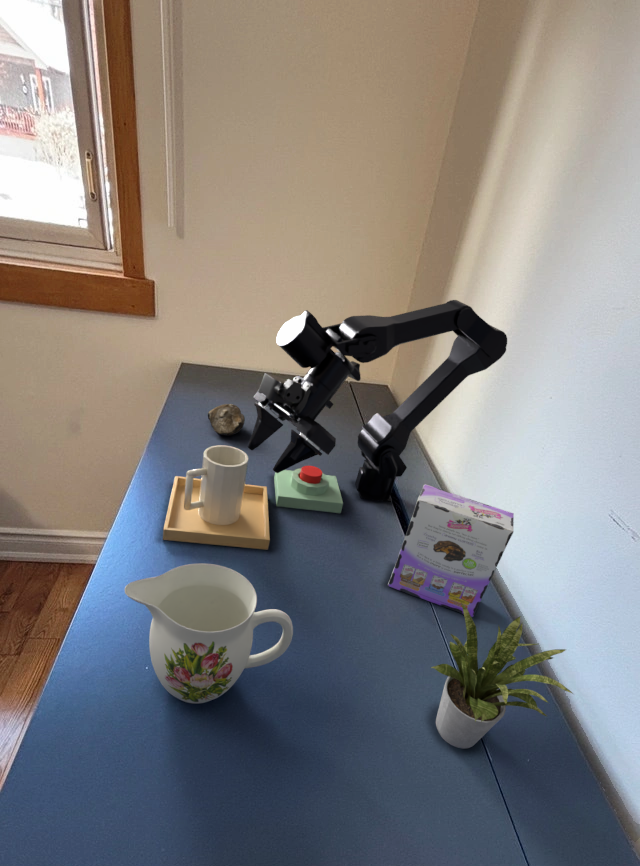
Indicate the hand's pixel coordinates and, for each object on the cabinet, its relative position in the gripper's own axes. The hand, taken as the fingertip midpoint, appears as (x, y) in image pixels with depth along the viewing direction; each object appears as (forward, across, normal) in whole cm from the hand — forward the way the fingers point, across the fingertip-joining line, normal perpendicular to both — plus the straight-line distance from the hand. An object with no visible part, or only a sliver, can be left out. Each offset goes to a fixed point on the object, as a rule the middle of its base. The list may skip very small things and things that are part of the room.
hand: (261, 459), depth 89 cm
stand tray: (+12, 0, 0) cm, 12 cm away
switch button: (-2, -2, +13) cm, 13 cm away
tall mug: (+12, 0, -2) cm, 13 cm away
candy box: (0, +28, +21) cm, 35 cm away
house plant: (+10, +50, +10) cm, 52 cm away
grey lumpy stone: (+1, -30, +10) cm, 32 cm away
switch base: (+1, -2, +15) cm, 15 cm away
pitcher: (+23, +31, -10) cm, 39 cm away
